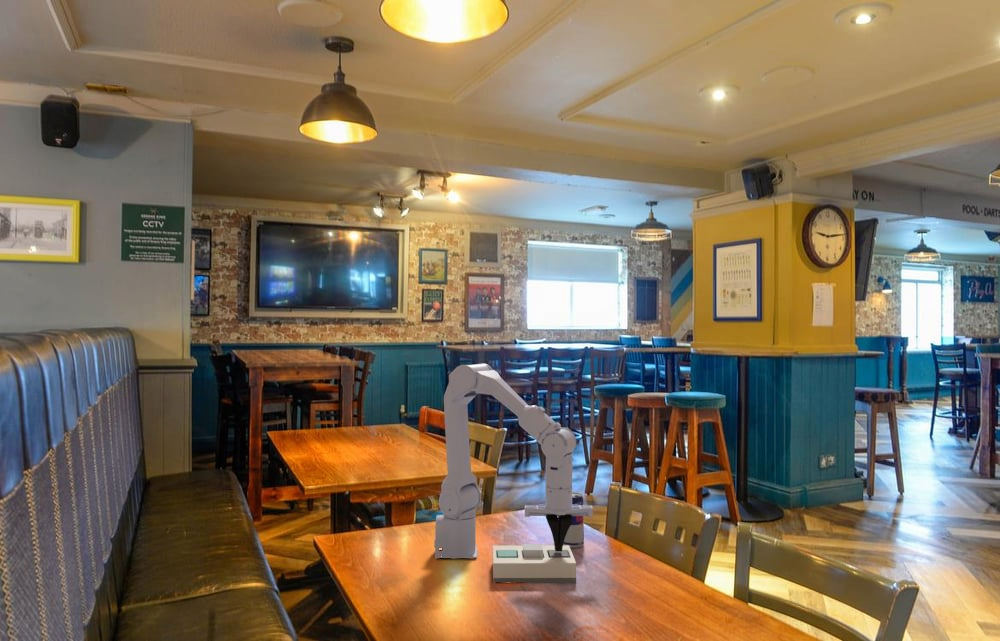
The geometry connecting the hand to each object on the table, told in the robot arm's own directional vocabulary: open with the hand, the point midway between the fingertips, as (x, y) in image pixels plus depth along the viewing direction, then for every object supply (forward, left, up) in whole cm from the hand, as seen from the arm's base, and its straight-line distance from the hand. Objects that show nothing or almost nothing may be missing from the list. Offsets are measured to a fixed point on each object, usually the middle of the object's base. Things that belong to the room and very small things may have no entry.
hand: (558, 549), depth 139 cm
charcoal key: (0, 0, -4) cm, 4 cm away
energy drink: (+6, +18, -5) cm, 19 cm away
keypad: (-5, 0, -5) cm, 7 cm away
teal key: (-11, 0, -4) cm, 12 cm away
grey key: (-5, 0, -2) cm, 6 cm away
